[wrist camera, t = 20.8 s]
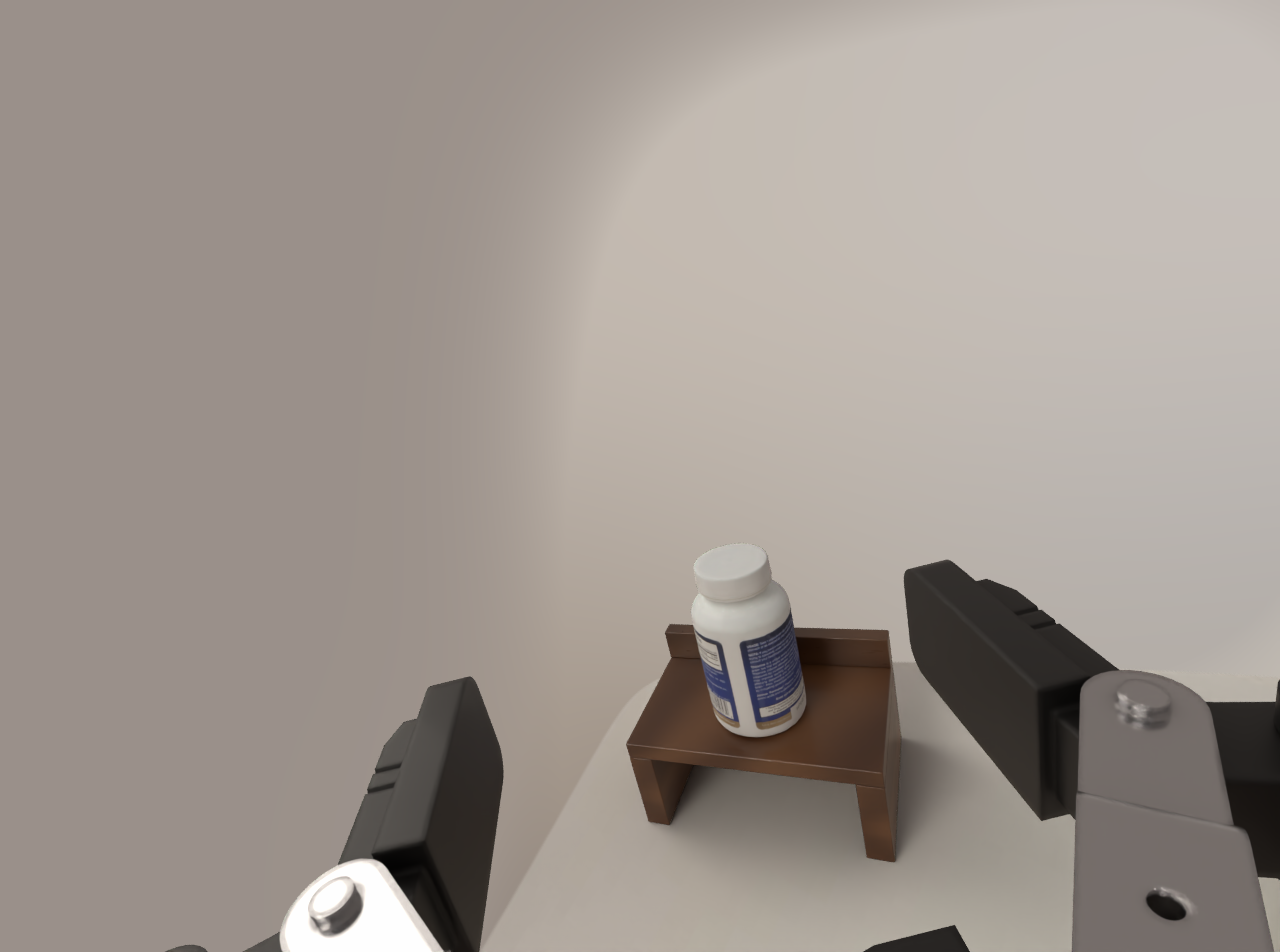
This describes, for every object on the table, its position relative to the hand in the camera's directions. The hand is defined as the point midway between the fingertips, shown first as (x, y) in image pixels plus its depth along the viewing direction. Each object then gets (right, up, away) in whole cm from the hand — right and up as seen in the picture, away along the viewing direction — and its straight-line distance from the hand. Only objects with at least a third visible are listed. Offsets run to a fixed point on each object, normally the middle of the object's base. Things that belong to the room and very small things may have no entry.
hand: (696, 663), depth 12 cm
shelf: (+7, -15, +29) cm, 34 cm away
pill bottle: (+6, -10, +27) cm, 29 cm away
